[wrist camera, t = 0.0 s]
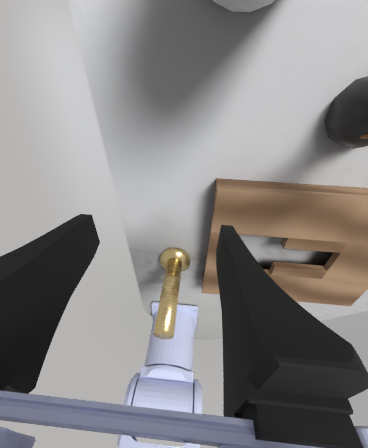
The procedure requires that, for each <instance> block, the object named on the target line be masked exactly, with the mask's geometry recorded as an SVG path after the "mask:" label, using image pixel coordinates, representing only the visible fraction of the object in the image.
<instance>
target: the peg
mask: <svg viewBox="0 0 368 448" xmlns="http://www.w3.org/2000/svg"><path fill="white" fill-rule="evenodd" d="M160 264H161V266H162V267H163V268H164V269H166V271H165V276H164V281H163V286H162V291H161V296H160V302H159V307H158V312H157V317H156V322H155V327H154V332H153V334H154V336H155V337H157V338H159V339H165V340H167V339H172V338H173V337H174V330H175V321H176V312H177V304H178V295H179V286H180V277H181V272H183V271H185V270H186V269H187V268H188V267H189V265H190V257H189V255H188V253H187V252H186V251H184V250H182V249H179V248H168V249H166V250H164V251H163V252H162V254H161V258H160Z"/></svg>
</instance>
